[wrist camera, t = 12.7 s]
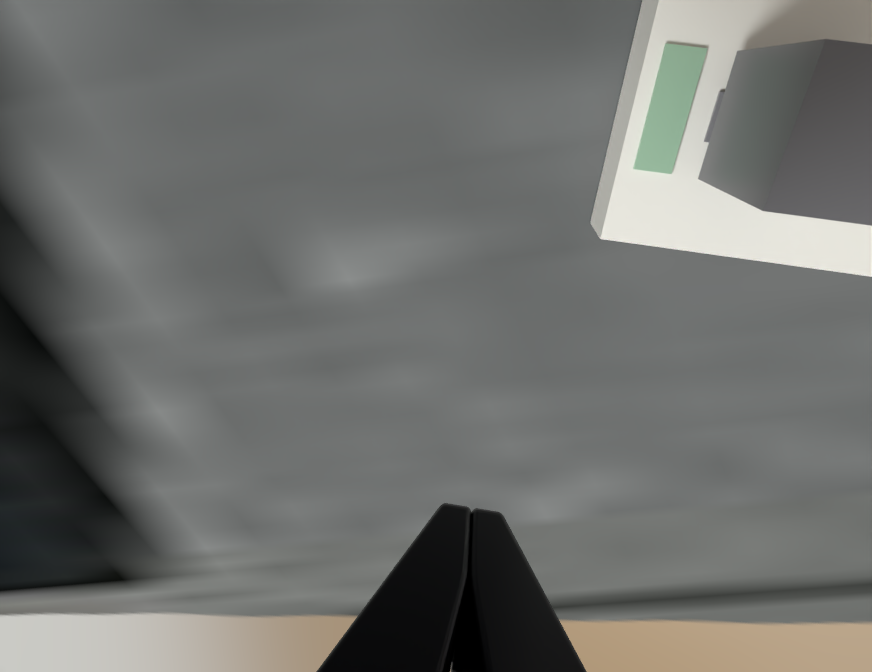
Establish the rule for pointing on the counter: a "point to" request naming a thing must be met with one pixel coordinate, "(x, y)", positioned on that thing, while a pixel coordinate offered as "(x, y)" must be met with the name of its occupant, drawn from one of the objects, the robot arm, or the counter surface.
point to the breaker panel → (692, 127)
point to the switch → (797, 131)
